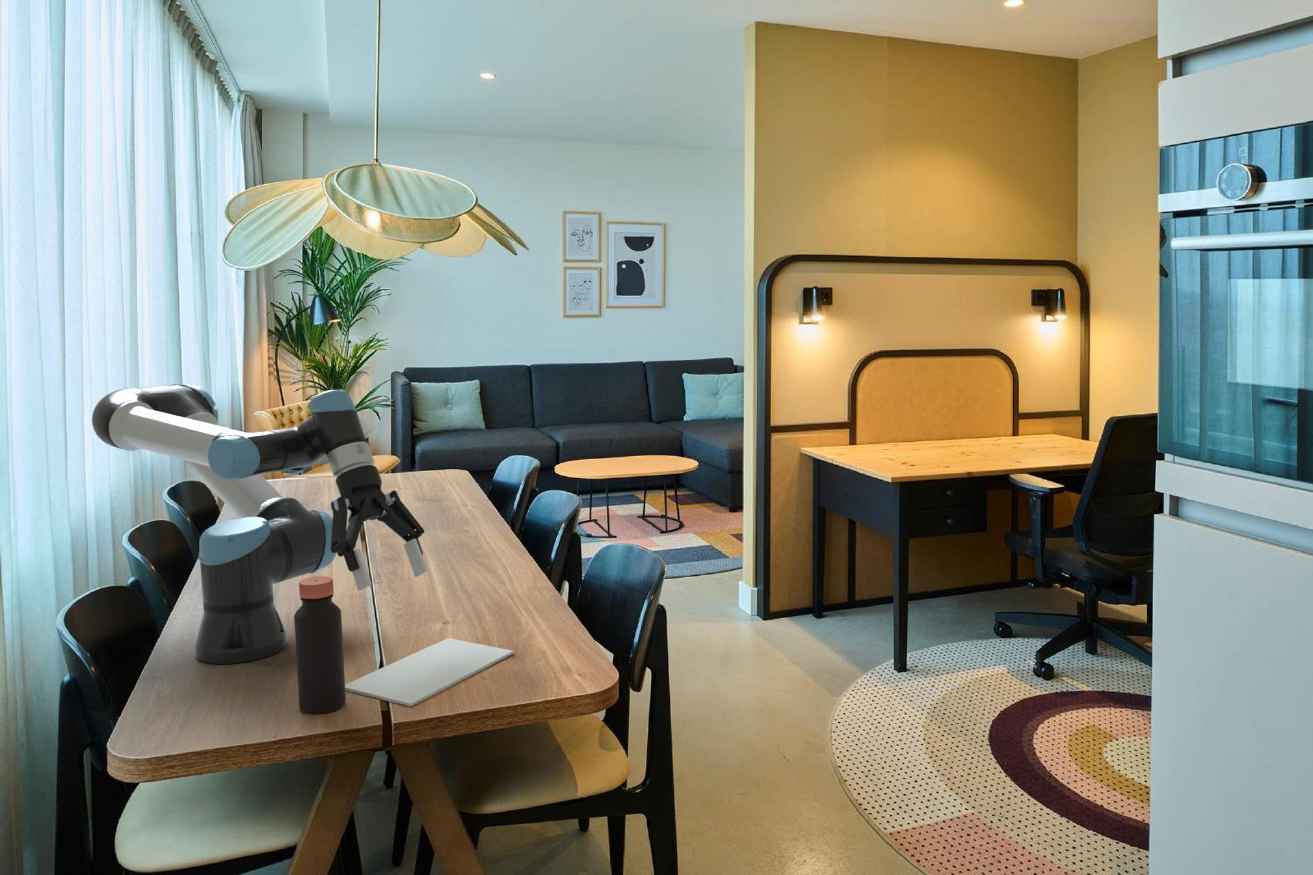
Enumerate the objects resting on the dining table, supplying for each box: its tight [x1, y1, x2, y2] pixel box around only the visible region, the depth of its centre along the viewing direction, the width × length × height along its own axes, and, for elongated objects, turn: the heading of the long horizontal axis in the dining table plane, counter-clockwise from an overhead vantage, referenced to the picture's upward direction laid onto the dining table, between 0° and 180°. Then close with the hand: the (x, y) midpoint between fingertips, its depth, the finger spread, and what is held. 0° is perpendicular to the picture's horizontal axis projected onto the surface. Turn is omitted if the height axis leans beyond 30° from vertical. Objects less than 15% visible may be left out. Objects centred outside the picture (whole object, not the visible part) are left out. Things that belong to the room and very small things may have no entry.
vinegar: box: [293, 575, 347, 715], centre depth 142 cm, size 7×7×20 cm
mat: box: [345, 637, 514, 707], centre depth 158 cm, size 15×26×1 cm, turn 152°
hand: (394, 580), depth 164 cm, fingers open, 13 cm apart
